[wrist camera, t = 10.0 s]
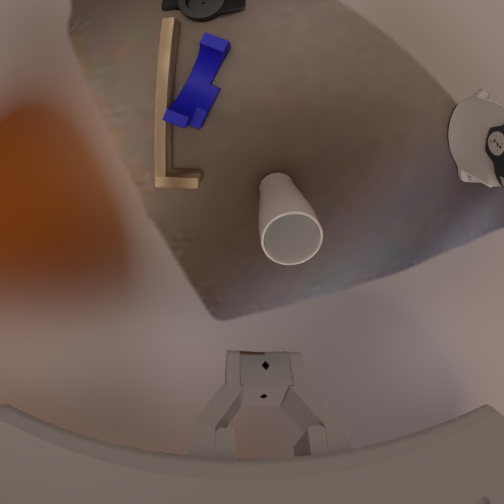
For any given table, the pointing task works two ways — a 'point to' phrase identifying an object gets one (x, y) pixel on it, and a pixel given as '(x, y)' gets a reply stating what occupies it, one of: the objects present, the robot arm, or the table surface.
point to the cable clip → (199, 85)
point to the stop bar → (164, 100)
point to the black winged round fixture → (203, 8)
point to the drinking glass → (287, 221)
